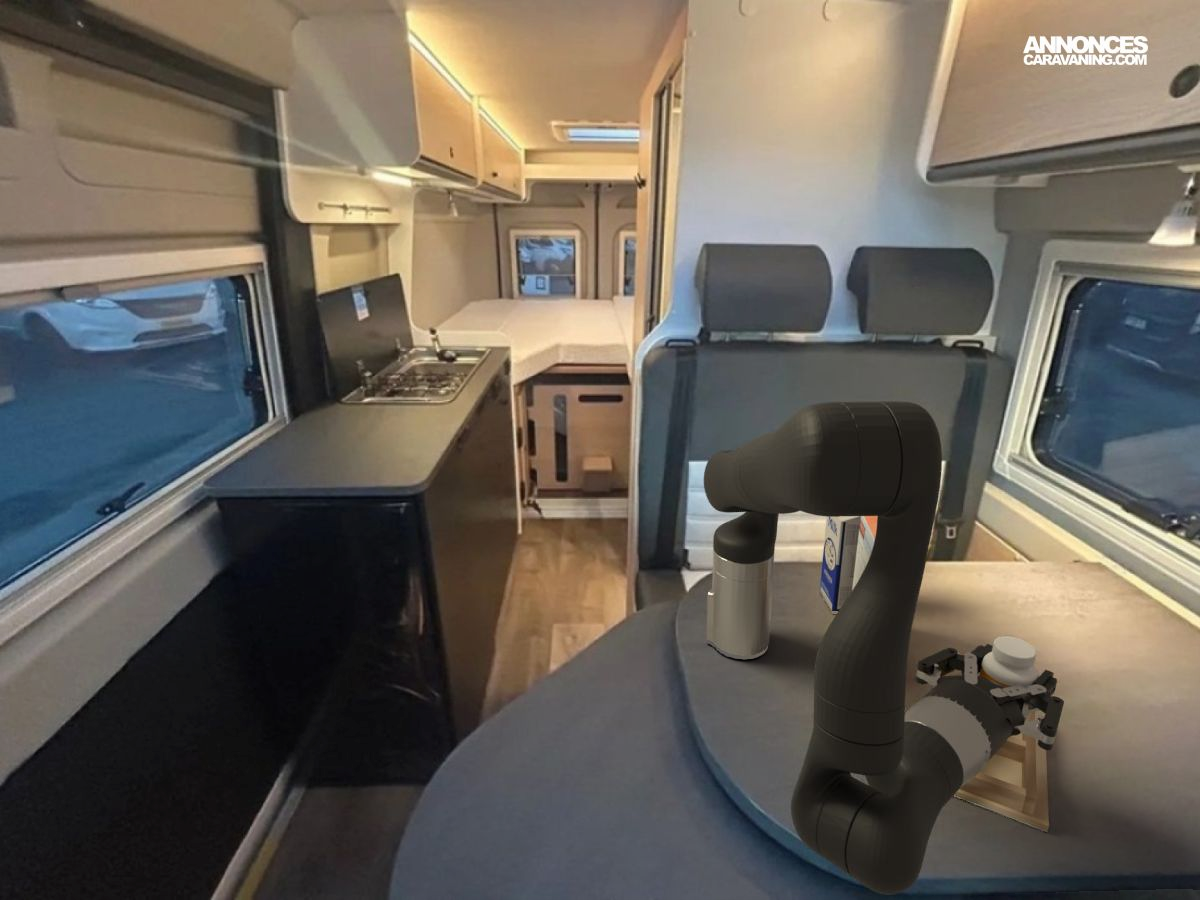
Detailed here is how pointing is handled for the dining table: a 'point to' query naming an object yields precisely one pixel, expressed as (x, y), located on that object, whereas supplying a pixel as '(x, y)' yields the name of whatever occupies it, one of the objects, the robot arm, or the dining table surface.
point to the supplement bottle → (1010, 664)
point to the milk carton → (839, 559)
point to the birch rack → (1014, 781)
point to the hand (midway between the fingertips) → (1018, 664)
